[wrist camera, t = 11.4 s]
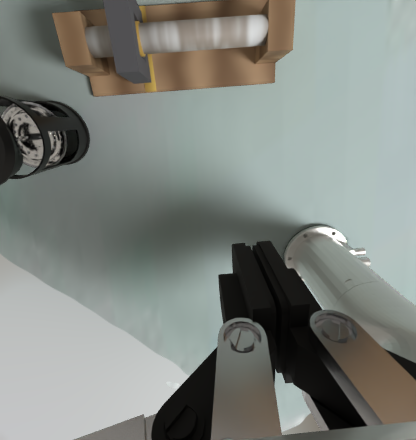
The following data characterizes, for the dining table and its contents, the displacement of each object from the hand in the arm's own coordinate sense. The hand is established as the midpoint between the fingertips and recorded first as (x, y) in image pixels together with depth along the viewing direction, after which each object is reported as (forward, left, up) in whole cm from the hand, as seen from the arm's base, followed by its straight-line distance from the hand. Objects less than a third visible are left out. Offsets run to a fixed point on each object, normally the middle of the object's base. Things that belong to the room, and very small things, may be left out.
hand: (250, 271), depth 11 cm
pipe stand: (+3, -16, -32) cm, 36 cm away
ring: (+9, -16, -30) cm, 35 cm away
